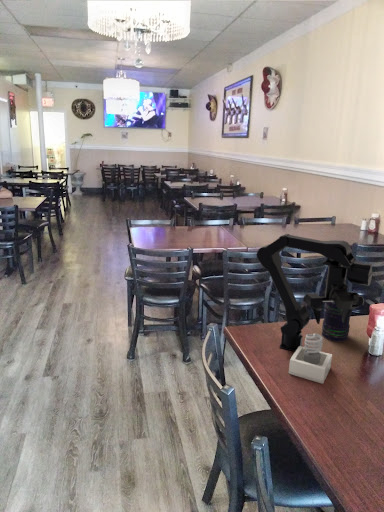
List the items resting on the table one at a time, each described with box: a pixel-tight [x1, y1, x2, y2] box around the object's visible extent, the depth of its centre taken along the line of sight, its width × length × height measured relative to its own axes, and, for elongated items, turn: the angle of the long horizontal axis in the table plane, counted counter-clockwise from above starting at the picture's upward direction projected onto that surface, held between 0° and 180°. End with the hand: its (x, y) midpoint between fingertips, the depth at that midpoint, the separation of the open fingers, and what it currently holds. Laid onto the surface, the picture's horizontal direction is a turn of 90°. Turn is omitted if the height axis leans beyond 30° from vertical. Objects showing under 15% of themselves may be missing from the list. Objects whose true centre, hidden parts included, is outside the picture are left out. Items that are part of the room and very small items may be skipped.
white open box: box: [288, 345, 333, 384], centre depth 130 cm, size 11×11×5 cm
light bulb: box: [303, 332, 324, 365], centre depth 129 cm, size 6×6×12 cm
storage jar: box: [321, 302, 352, 343], centre depth 154 cm, size 10×10×15 cm
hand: (330, 322), depth 136 cm, fingers open, 9 cm apart
